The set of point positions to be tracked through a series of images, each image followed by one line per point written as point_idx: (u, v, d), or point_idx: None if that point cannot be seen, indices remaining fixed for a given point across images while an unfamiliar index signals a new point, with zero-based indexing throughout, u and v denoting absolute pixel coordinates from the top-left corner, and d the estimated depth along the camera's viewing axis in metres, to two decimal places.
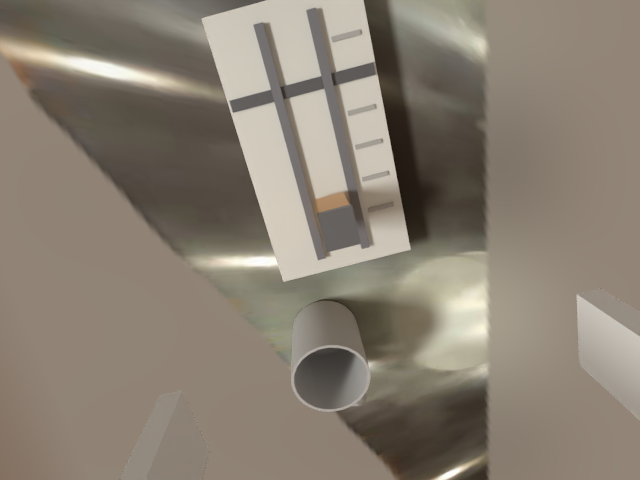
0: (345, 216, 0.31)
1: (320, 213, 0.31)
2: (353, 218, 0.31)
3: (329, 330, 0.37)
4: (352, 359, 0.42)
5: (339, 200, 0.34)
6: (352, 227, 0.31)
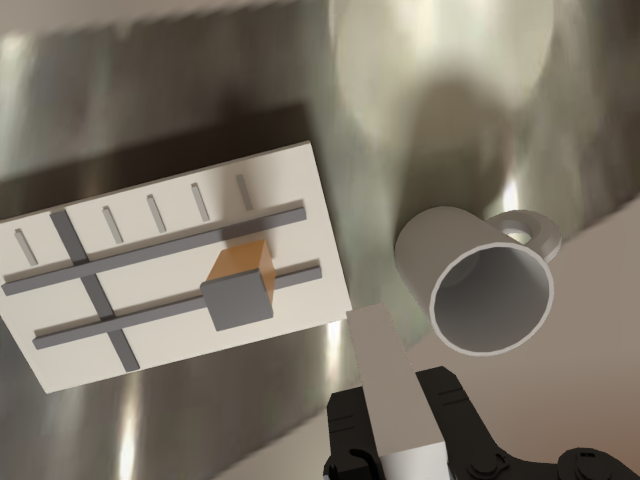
0: (216, 295, 0.21)
1: None
2: (218, 284, 0.21)
3: (417, 285, 0.25)
4: None
5: None
6: (232, 285, 0.21)
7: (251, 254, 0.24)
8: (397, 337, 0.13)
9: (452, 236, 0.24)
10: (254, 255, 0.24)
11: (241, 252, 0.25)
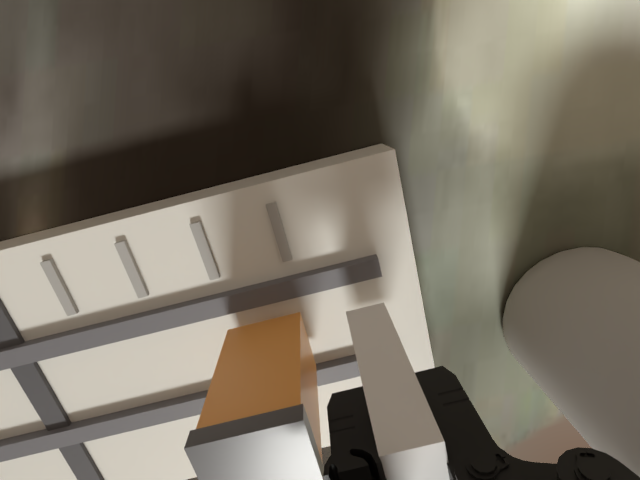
0: (218, 462, 0.10)
1: None
2: (222, 443, 0.10)
3: (586, 400, 0.14)
4: None
5: None
6: (251, 444, 0.10)
7: (280, 351, 0.14)
8: (397, 337, 0.13)
9: None
10: (287, 357, 0.13)
11: (262, 344, 0.14)
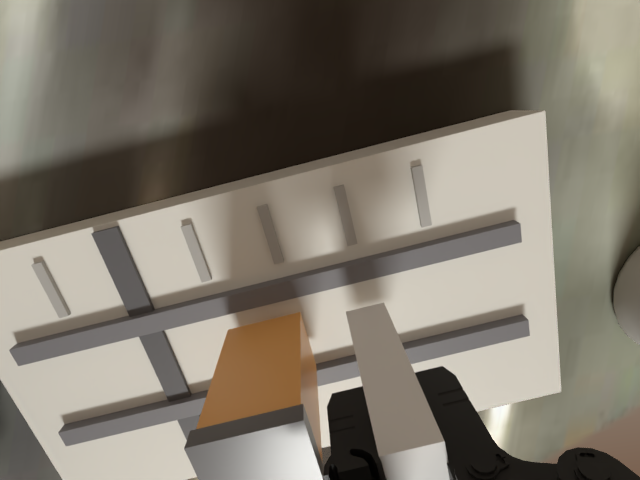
0: (218, 462, 0.10)
1: None
2: (222, 443, 0.10)
3: None
4: None
5: None
6: (251, 444, 0.10)
7: (281, 351, 0.14)
8: (397, 337, 0.13)
9: None
10: (288, 356, 0.13)
11: (263, 344, 0.14)
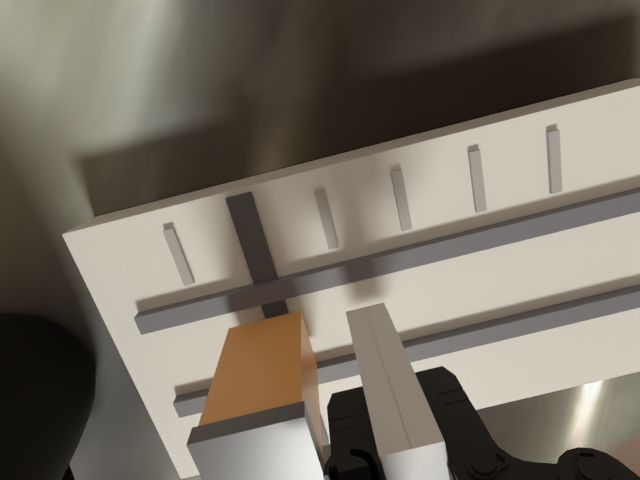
0: (220, 458, 0.11)
1: None
2: (224, 440, 0.10)
3: None
4: None
5: None
6: (252, 440, 0.10)
7: (281, 349, 0.14)
8: (397, 337, 0.13)
9: None
10: (289, 354, 0.13)
11: (264, 342, 0.14)
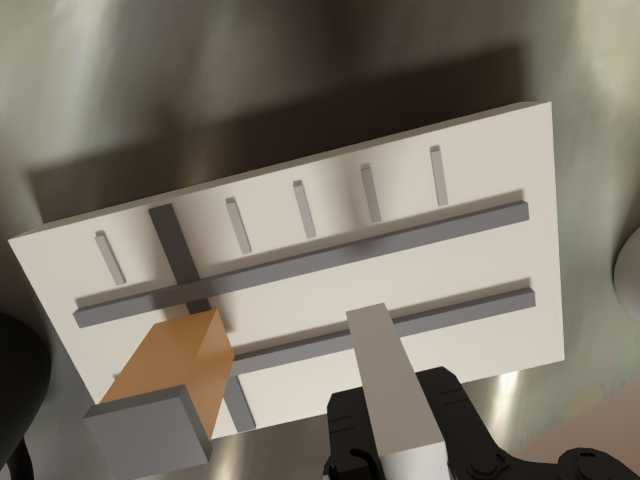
0: (111, 431, 0.13)
1: None
2: (114, 415, 0.13)
3: None
4: None
5: None
6: (137, 416, 0.13)
7: (187, 342, 0.16)
8: (397, 337, 0.13)
9: None
10: (190, 346, 0.15)
11: (176, 336, 0.16)
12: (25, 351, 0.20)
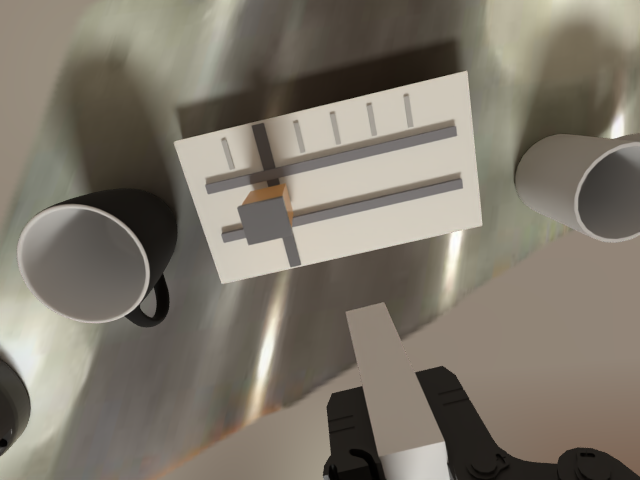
0: (249, 215, 0.27)
1: None
2: (251, 206, 0.27)
3: (555, 186, 0.30)
4: None
5: None
6: (262, 207, 0.27)
7: (275, 191, 0.30)
8: (397, 337, 0.13)
9: (589, 144, 0.29)
10: (278, 191, 0.30)
11: (267, 191, 0.31)
12: (170, 213, 0.35)
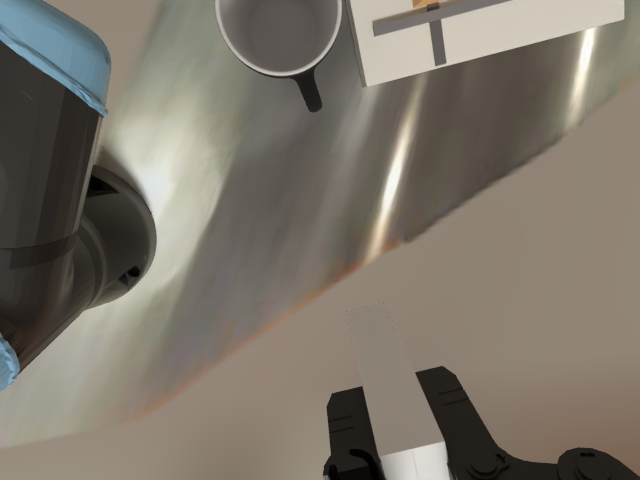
0: None
1: None
2: None
3: None
4: None
5: None
6: None
7: None
8: (397, 337, 0.13)
9: None
10: None
11: None
12: None
